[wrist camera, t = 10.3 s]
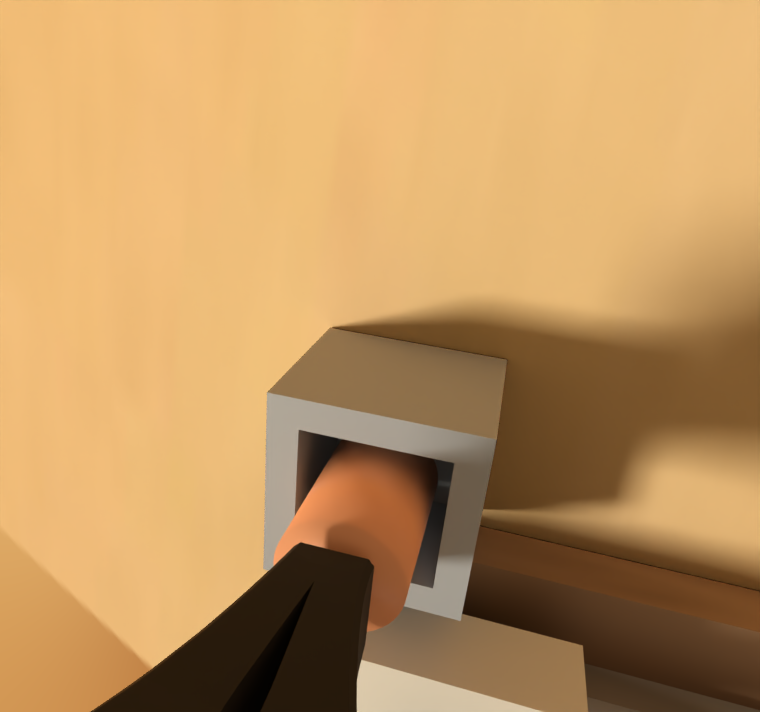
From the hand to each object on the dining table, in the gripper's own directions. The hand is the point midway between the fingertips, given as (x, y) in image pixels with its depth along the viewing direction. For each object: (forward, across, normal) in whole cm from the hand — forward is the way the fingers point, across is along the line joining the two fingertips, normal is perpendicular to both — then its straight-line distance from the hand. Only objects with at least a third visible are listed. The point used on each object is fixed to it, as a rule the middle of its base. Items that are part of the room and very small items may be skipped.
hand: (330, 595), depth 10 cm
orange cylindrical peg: (+4, 0, 0) cm, 4 cm away
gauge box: (+6, 0, 0) cm, 6 cm away
